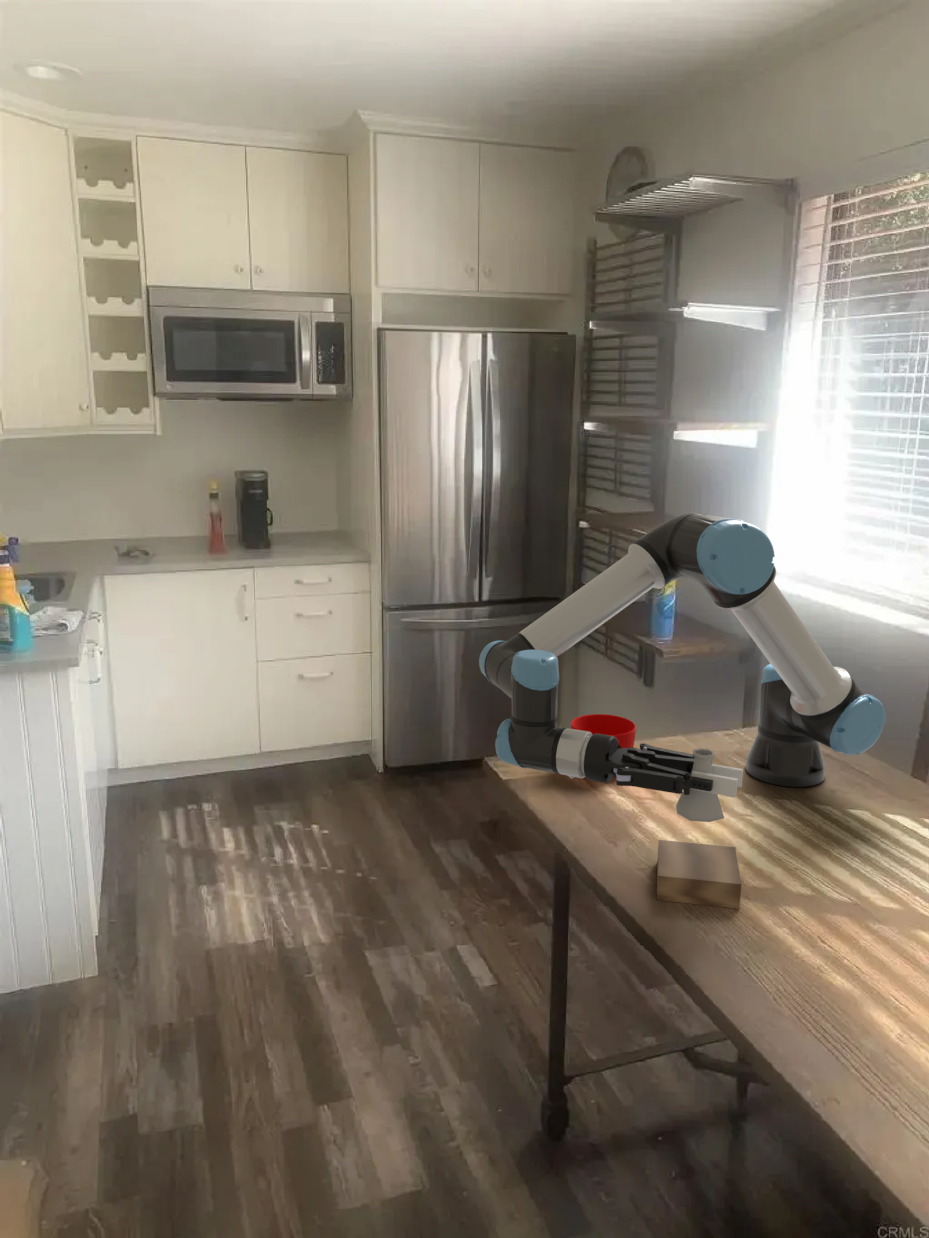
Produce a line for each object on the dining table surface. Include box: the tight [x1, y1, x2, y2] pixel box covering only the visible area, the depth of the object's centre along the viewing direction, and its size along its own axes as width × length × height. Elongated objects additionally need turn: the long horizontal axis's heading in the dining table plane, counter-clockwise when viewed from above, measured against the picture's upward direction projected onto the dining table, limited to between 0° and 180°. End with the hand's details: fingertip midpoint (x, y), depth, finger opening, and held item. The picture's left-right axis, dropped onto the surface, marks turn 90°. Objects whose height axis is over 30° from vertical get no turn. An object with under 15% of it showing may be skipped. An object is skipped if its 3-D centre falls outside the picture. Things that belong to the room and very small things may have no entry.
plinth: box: [656, 839, 742, 910], centre depth 143 cm, size 12×12×4 cm
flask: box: [675, 747, 725, 823], centre depth 139 cm, size 7×7×10 cm
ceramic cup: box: [570, 713, 637, 748], centre depth 186 cm, size 13×17×10 cm
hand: (738, 783), depth 137 cm, fingers closed on flask, 3 cm apart
